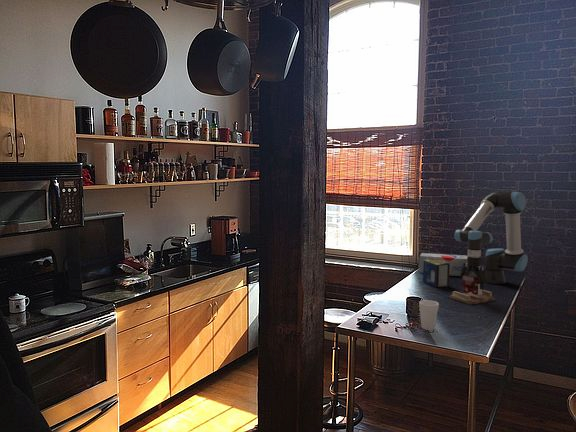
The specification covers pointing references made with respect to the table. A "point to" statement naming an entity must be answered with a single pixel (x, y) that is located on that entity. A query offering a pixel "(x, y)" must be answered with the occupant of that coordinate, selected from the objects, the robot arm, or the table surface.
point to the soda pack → (453, 260)
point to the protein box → (436, 273)
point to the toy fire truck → (470, 284)
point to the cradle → (472, 297)
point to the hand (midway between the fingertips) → (472, 291)
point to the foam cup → (428, 314)
